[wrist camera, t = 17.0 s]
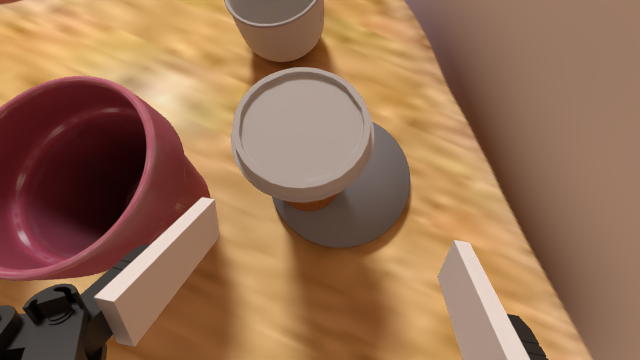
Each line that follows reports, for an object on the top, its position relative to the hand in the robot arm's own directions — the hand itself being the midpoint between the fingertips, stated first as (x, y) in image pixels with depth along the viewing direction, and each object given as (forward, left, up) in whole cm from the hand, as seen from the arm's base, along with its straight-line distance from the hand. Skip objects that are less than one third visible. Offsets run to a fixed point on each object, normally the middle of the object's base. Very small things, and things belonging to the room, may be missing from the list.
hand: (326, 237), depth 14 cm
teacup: (-20, +21, -13) cm, 32 cm away
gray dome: (-3, +7, -13) cm, 15 cm away
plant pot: (-18, -5, -13) cm, 23 cm away
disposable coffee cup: (-5, +5, -12) cm, 13 cm away
